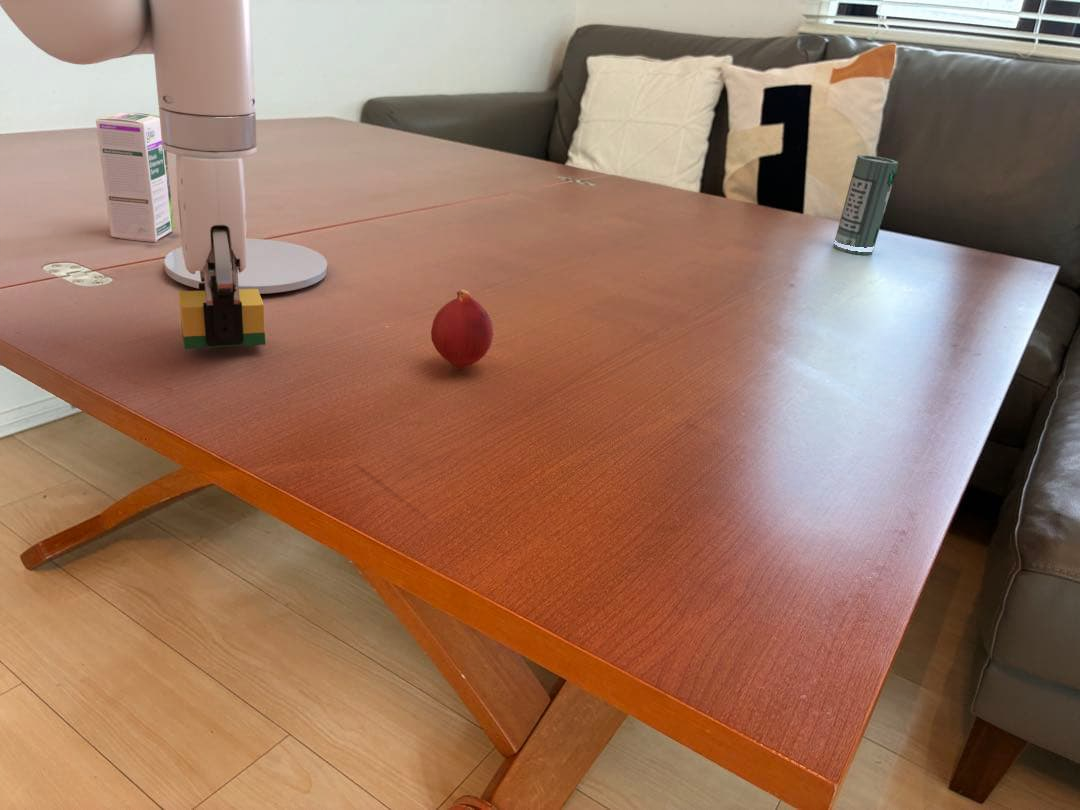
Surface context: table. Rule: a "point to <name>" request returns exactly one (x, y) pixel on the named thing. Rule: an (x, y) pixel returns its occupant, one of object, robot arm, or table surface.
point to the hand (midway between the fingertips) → (222, 331)
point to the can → (866, 202)
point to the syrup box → (135, 176)
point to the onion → (462, 331)
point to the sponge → (196, 327)
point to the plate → (262, 267)
